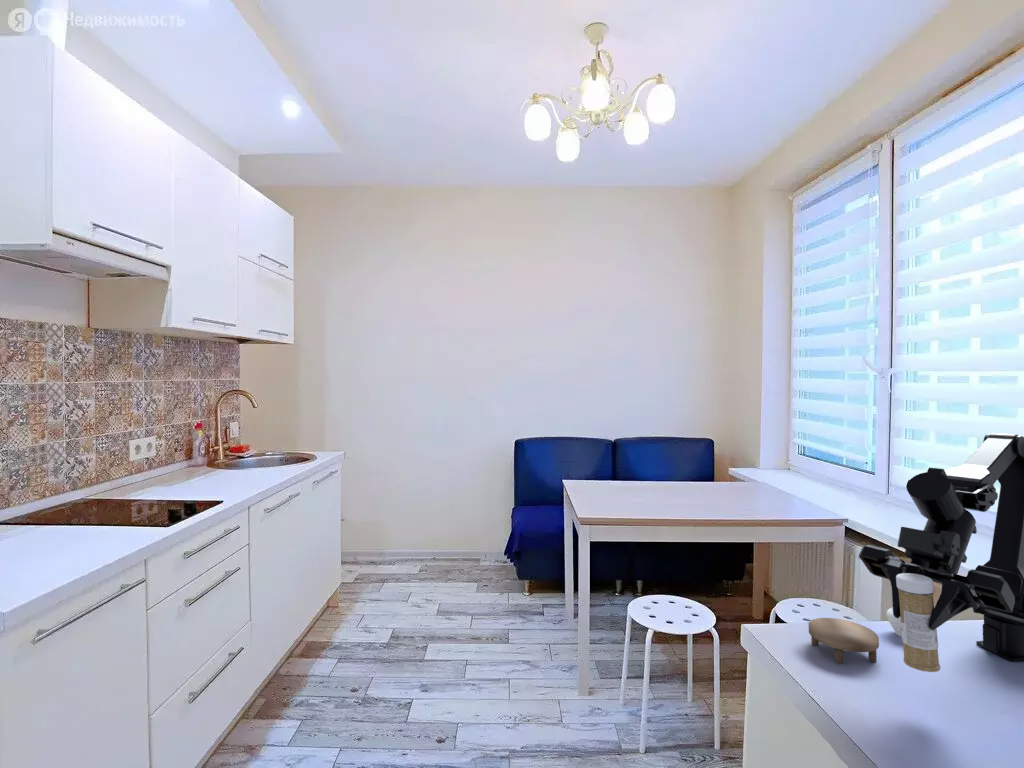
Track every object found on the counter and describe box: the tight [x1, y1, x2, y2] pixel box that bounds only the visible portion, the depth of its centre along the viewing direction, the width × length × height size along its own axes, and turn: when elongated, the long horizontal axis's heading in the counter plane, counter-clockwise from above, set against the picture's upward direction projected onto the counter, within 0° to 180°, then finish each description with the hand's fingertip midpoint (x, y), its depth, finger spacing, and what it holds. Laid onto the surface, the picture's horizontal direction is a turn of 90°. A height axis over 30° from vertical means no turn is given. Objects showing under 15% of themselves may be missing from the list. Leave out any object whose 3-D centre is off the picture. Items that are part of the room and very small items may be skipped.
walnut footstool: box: [808, 617, 880, 665], centre depth 96 cm, size 11×11×4 cm
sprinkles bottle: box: [896, 573, 941, 673], centre depth 80 cm, size 5×5×14 cm
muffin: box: [886, 605, 902, 638], centre depth 102 cm, size 6×6×7 cm
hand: (912, 622), depth 79 cm, fingers closed on sprinkles bottle, 4 cm apart
